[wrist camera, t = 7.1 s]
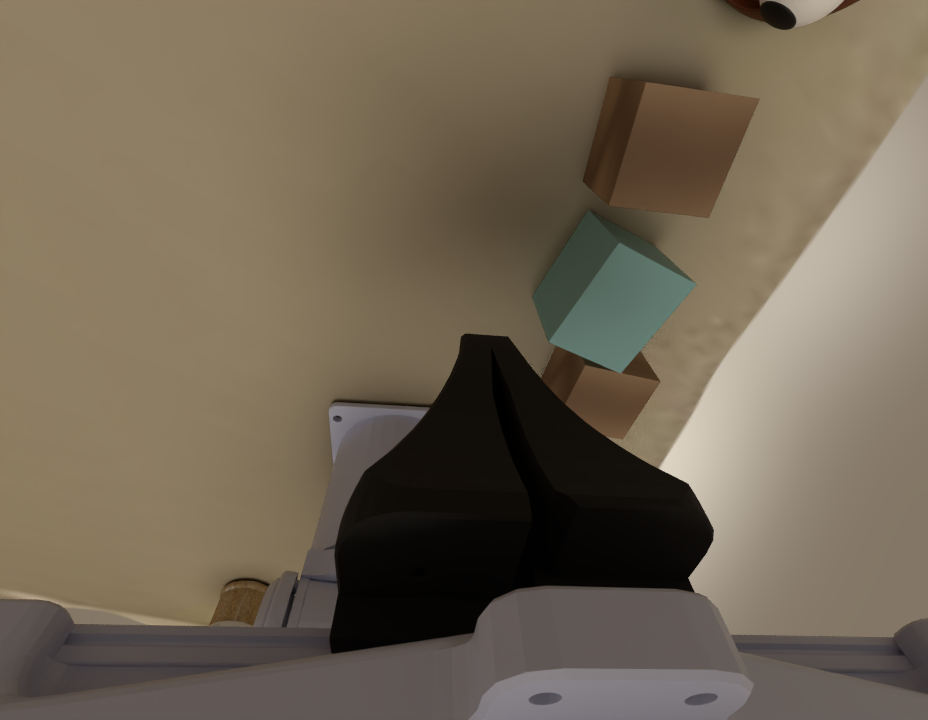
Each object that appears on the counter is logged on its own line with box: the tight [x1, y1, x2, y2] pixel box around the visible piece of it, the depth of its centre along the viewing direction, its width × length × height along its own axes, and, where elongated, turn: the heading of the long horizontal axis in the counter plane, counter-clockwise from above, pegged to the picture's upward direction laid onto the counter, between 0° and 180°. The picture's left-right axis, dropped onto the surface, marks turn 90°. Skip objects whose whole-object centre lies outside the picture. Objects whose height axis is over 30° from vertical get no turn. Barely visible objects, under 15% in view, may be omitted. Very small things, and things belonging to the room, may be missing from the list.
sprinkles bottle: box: [209, 580, 268, 627], centre depth 33 cm, size 5×5×14 cm
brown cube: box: [583, 77, 759, 218], centre depth 18 cm, size 4×4×4 cm
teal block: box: [532, 210, 697, 373], centre depth 21 cm, size 5×4×4 cm
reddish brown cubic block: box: [541, 346, 660, 439], centre depth 24 cm, size 4×4×4 cm
